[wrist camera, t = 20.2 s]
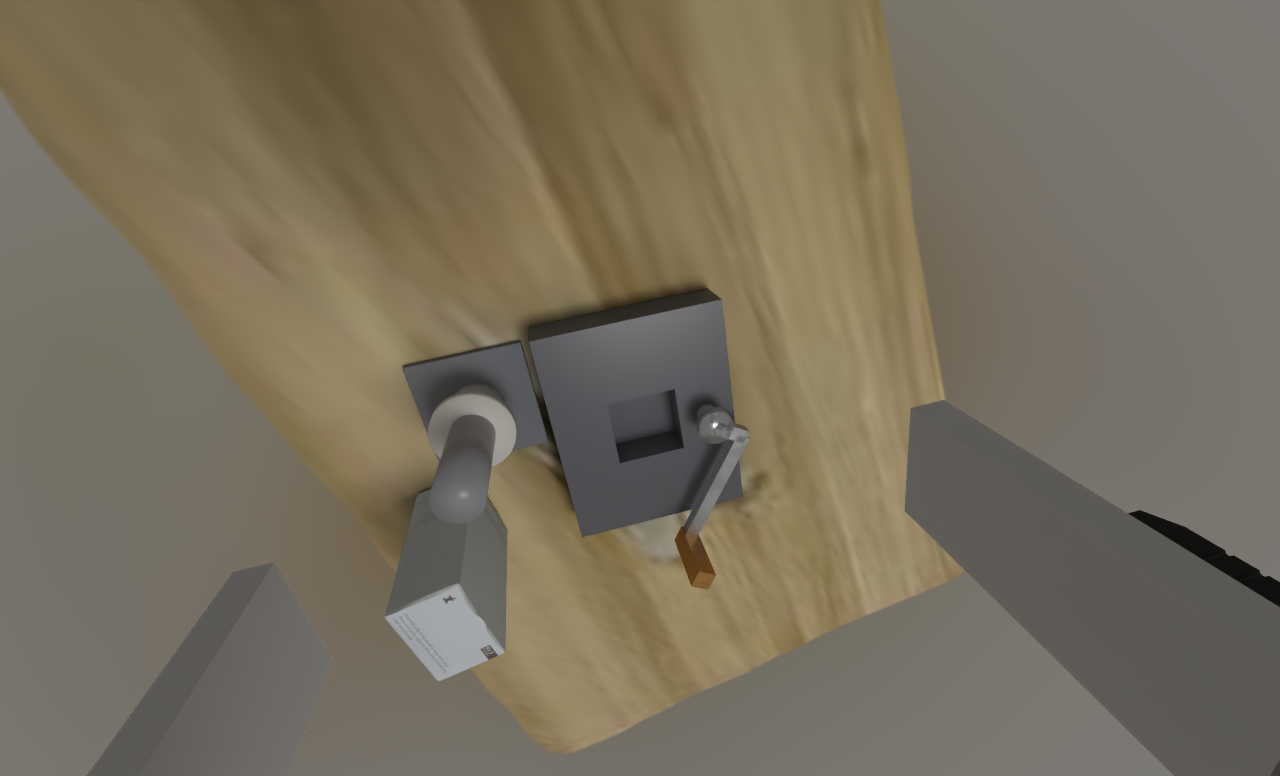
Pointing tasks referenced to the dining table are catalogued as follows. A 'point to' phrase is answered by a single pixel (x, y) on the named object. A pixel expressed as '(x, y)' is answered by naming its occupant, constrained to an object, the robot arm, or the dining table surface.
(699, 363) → the socket block
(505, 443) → the plug
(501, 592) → the skincare box
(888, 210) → the dining table surface
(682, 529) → the clip
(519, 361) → the pad
